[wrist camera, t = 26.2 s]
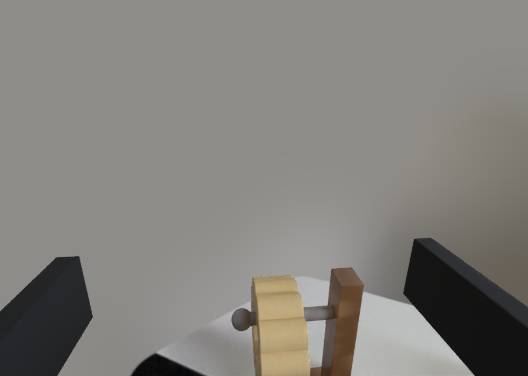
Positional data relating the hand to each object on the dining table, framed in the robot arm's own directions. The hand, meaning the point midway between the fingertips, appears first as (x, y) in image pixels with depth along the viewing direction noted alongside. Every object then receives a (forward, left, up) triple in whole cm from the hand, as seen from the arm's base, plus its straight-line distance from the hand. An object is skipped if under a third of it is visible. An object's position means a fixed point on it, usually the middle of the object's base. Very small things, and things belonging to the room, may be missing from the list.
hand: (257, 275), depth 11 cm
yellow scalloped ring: (+4, +15, -24) cm, 29 cm away
